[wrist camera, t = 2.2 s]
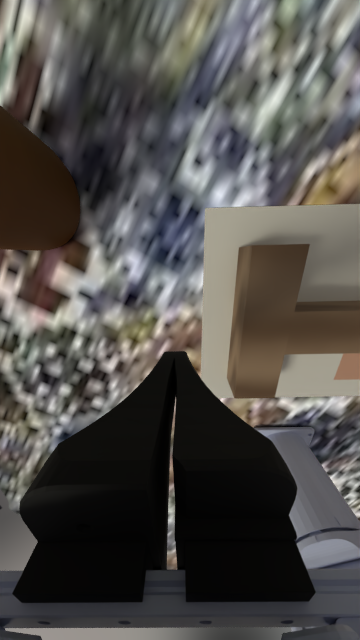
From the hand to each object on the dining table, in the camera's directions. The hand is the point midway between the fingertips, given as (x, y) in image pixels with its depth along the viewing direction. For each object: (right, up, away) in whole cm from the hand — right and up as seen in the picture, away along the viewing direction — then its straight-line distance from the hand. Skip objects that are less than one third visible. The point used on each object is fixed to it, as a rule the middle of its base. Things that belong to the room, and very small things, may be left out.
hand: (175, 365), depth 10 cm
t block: (+13, +3, +7) cm, 14 cm away
